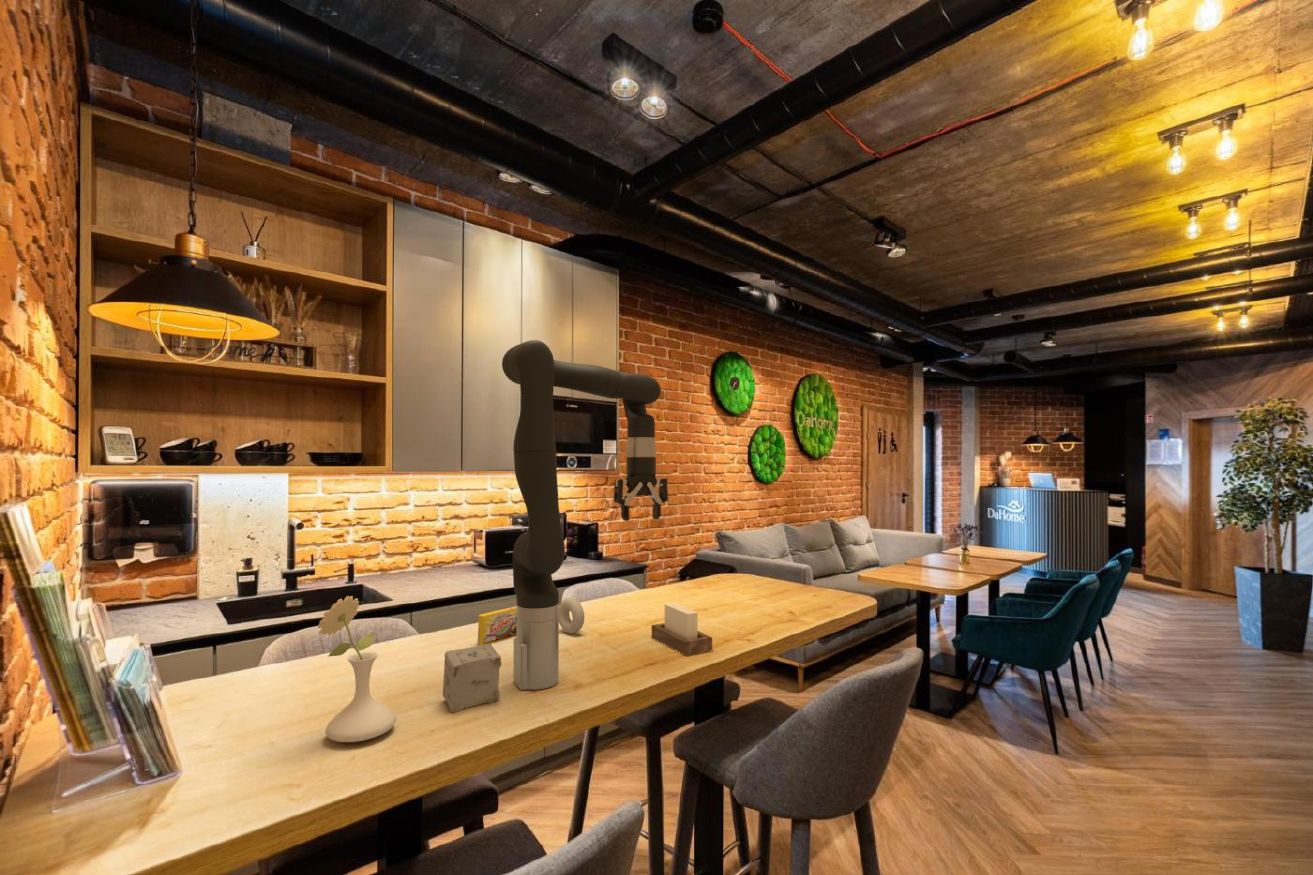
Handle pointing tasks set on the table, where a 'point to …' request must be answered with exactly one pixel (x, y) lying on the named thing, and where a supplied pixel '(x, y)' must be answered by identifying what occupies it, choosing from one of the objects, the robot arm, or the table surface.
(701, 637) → the brown rectangular tray
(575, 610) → the donut
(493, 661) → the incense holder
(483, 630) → the candy box
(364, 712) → the flower in vase
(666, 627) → the white rectangular block
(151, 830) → the table surface
